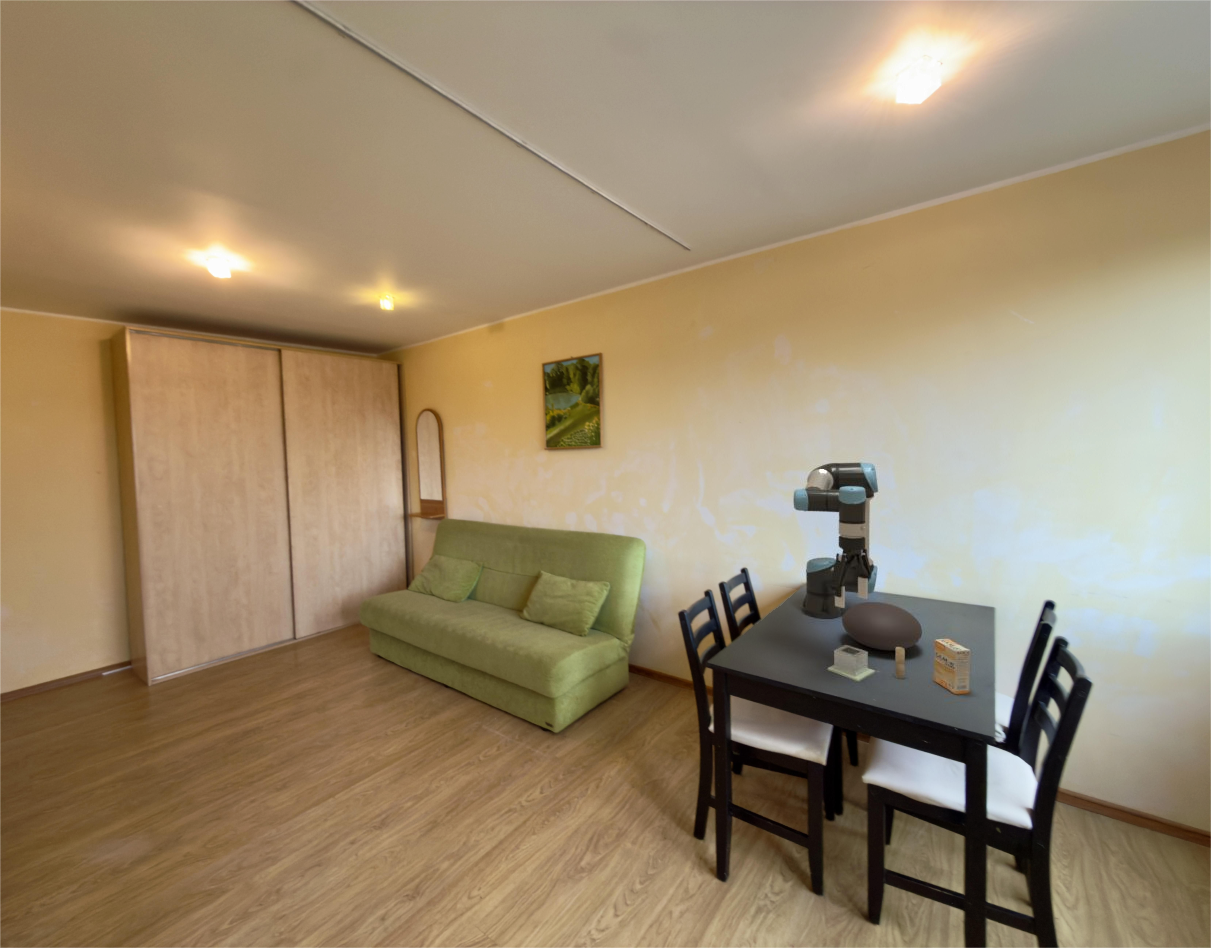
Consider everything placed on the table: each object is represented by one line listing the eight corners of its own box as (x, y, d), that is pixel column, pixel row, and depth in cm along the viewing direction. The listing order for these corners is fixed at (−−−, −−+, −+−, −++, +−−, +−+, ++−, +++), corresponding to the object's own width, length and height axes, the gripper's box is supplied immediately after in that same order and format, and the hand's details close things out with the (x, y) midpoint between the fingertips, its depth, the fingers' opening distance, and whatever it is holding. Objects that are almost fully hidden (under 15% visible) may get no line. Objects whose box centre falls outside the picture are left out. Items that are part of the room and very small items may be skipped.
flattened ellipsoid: (873, 664, 160) (874, 619, 159) (827, 635, 185) (827, 596, 184) (939, 657, 164) (940, 613, 163) (886, 629, 189) (886, 591, 188)
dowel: (893, 676, 152) (894, 648, 151) (897, 674, 153) (897, 646, 153) (902, 679, 150) (902, 650, 149) (905, 677, 151) (906, 648, 151)
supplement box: (932, 681, 148) (933, 639, 148) (947, 680, 149) (948, 638, 148) (954, 694, 140) (955, 650, 139) (970, 693, 141) (971, 649, 140)
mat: (827, 669, 157) (827, 668, 157) (844, 661, 163) (844, 659, 163) (858, 681, 149) (858, 679, 149) (875, 672, 155) (875, 670, 155)
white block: (834, 668, 157) (834, 650, 156) (846, 662, 161) (846, 644, 160) (855, 676, 151) (855, 657, 151) (867, 670, 155) (867, 651, 155)
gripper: (841, 543, 143) (841, 613, 145) (884, 532, 157) (883, 597, 159) (818, 539, 149) (817, 607, 151) (860, 529, 164) (860, 591, 165)
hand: (851, 602), depth 155 cm, fingers open, 13 cm apart
